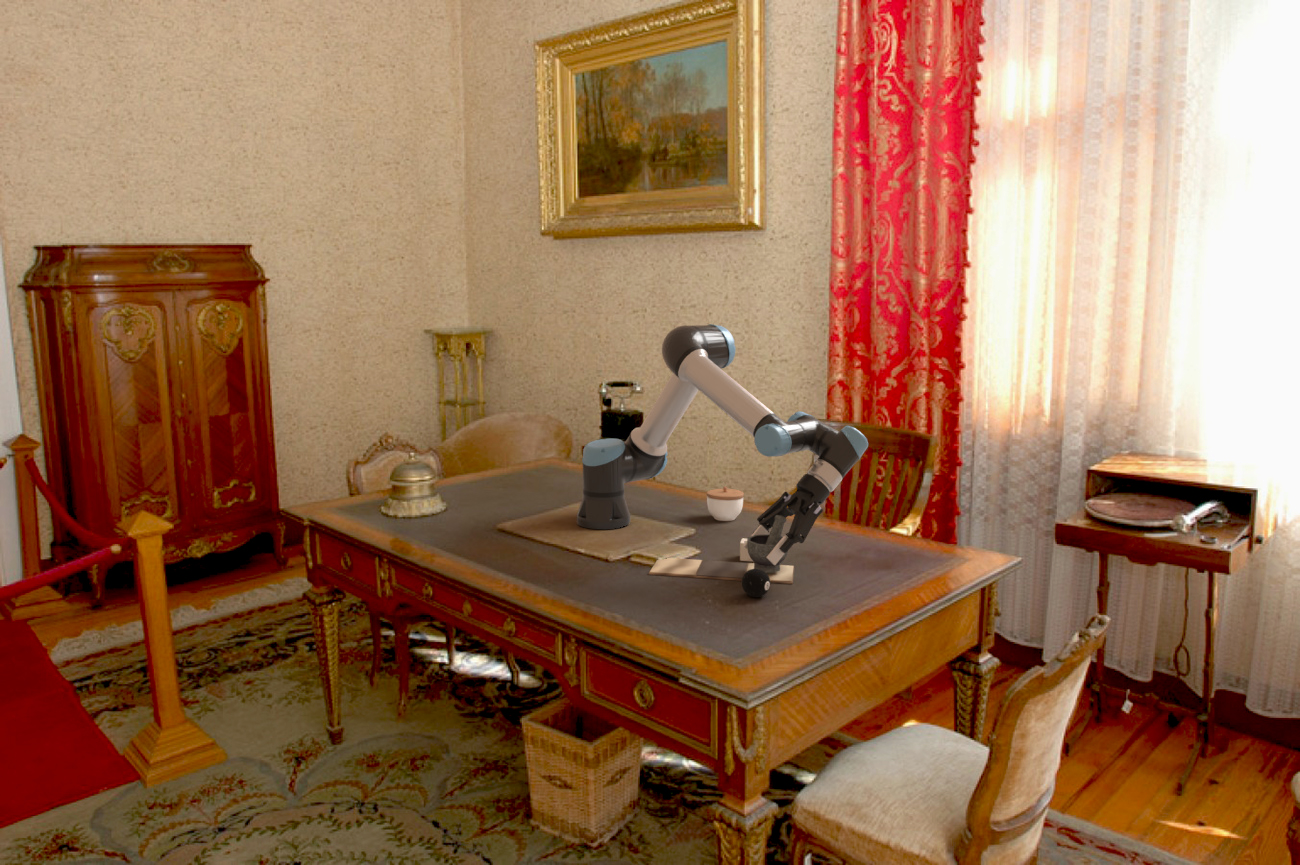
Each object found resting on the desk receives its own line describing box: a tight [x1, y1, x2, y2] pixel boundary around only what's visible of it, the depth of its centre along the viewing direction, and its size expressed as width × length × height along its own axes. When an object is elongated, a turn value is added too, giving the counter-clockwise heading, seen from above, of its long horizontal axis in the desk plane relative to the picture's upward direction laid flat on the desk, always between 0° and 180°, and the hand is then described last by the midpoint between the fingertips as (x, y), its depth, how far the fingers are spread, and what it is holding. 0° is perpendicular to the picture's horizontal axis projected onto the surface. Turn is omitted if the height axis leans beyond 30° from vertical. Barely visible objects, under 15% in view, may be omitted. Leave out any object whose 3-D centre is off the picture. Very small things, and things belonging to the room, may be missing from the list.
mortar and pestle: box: [746, 515, 789, 573], centre depth 210 cm, size 11×9×12 cm
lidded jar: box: [706, 486, 745, 522], centre depth 262 cm, size 11×11×9 cm
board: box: [647, 557, 795, 585], centre depth 212 cm, size 33×13×1 cm, turn 79°
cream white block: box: [739, 538, 754, 562], centre depth 222 cm, size 4×4×5 cm
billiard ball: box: [741, 569, 771, 598], centre depth 194 cm, size 6×6×6 cm
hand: (758, 555), depth 208 cm, fingers closed on mortar and pestle, 10 cm apart
